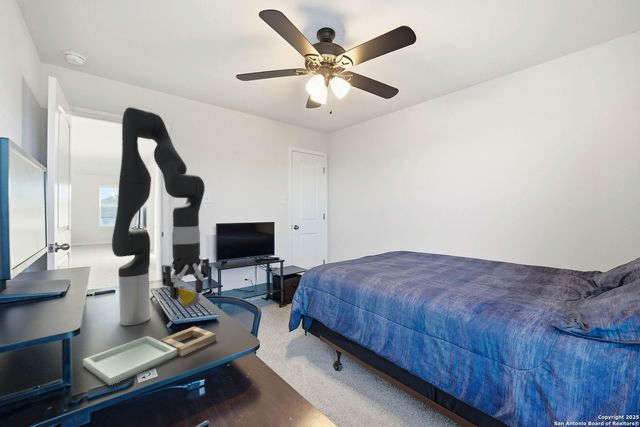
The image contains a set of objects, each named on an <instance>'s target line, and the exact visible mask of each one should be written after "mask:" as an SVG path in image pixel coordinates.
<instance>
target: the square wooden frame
mask: <svg viewBox="0 0 640 427" xmlns="http://www.w3.org/2000/svg"><path fill="white" fill-rule="evenodd" d="M191 336H192V337H193V338H196V339H193V340H192V341H188V342H187V343H183V342H182V341H185V340H186V339H189V338H191ZM159 341H160V342H162V343H165V344H167V345H169V346H171V347H173V348H176V349H177V356H180V357H184V356H185V355H187V354H190V353H192V352H193V351H196V350H198V349H200V348H203V347H205V346H207V345H209V344H211V343H213V342H215V341H217V334H216V333H214V332H211V331H209V330H206V329H204V328H201V327H197V326H192V327H190V328H187V329H184V330H181V331H178V332H175V333H173V334H170V335H169V336H165V337H163V338H160V340H159Z"/></svg>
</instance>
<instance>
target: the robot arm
mask: <svg viewBox="0 0 640 427" xmlns="http://www.w3.org/2000/svg"><path fill="white" fill-rule="evenodd" d="M121 124H122V125H121V128H122V129H121V131H122V132H121V134H122V135H121V138H122V139H121V141H122V144H121V147H122V148H121V151H122V152H121V165H120V173H119V180H118V181H119V182H118V195H117V210H116V217H115V221H114V226H113V227H114V229H113V231H112V232H113V233H112V239H111V249H112V250H111V251H112V252H113V255H114V256H115V257H117V258H118V257H119V258H122V257H123V258H124V257H131V256H134V257H133V259H132V260H130V261H129V262H127V263H125V264H124V265H122V266H120V267H119V268H118V291H119V292H118V293H119V295H118V296H119V324H120V325H121V326H126V327H127V326H136V325H139V324H143V323H145V322H148V321H149V320H150V319H151V309H150V308H151V304H150V301H151V299H150V298H151V297H150V264H151V259H150V258H151V257H150V256H151V237H150V234H149V232H148V230H145V229H140V228H139V229H130V227H131V223H132V221H133V219H134V217H135V216H136V215H137V213H138V212H139V211H140V210H141V208H142V207H143V206H144V205H145V204H146V202H147V201H148V200H149V198H150V194H151V188H152V187H151V186H152V177H151V173H150V171H149V169H148V168H147V166H146V164H145V162H144V161H143V159H142V157H141V154H140V150H139V144H138V142H139V141H138V138H139V139H140V138H141V139H147V140H152V141H154V142H155V143H156V145H155V146H156V147H155V148H154V150H153V158H154V162H155V163H156V165H157V167H158V168H159V170H160V171H161V174H162V176H163V181H164V187H165V191H166V193H167V194H168V195H169V196H171V197H172V198H176V199H186V201H185V203H184V205H179V206H176V207H174V208H173V210H172V232H171V233H172V235H171V237H172V239H171V240H172V242H171V243H172V245H171V246H172V262H171V264H162V266H161V278H162V279H161V281H162V285H163V286H164V287H168V288H169V296H170V298H171V300H174V301H177V300H179V295H178V288H179V287H178V286H179V283H180V281H182V280H183V278H184V277H187V276H189V275H192V276H193V277H194V278H195V280H194V283H195V284H194V286H195V288H194V291H196V292H197V293H198V294H202V291H203V289H204V285H203V284H204V282H203V281H204V279H206V278H209V276H210V275H209V273H210V271H209V270H210V259H209V258H206V257H205V258H204V257H202V258H200V256H201V233H200V232H201V231H200V227H199V225H200V220H199V217H200V209H201V205H202V201H203V198H204V194H205V191H206V190H205V183H204V180H203V179H202V178H201V177H200V176H199V175H196V174H194V175H193V174H186V173H187V170H188V169H187V165H186V163H185V161H184V160H183V159H182V157H181V155H179V153H178V152H177V150H176V148H175V146H174V144H173V141H172V140H171V137H170V136H171V135H170V133H169V132H168V128H167V127H166V124H165V122H164V120H163V119H162V117H161V116H160V115H159V114H158V113H156V112H152V111H149V110H145V109H141V108H137V107H134V106H133V107H132V106H129V107H127V108H126V109H125V110H124V112H123V115H122V122H121ZM199 266H200V269H199ZM172 271H173V273H172Z"/></svg>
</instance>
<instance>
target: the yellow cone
mask: <svg viewBox="0 0 640 427" xmlns="http://www.w3.org/2000/svg"><path fill="white" fill-rule="evenodd" d="M199 296H200V293H197V292H196V291H195V290H192V291H191V290H188V289H185V288H181V287H178V298H179V300H180V301H181V306H182V307H183V308H185V309H189V308H191V307H192V306H197V305H198V303H199V302H200V301H201V299H200V298H199Z"/></svg>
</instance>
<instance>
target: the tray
mask: <svg viewBox="0 0 640 427" xmlns="http://www.w3.org/2000/svg"><path fill="white" fill-rule="evenodd" d="M177 356H178V354H177V349H176V348H173V347H171V346H169V345H167V344H165V343H162V342H161V340H158V339H155V338H154V337H151V336H149V335H146V336H142V337H140V338H137V339H135V340H132V341H129V342H127V343H124V344H121V345H119V346H116V347H113V348H110V349H107V350H105V351H102V352H99V353H96V354H94V355H90V356H88V357H85V358H83V359H82V362H83V364H82V365H83V367H84V368H85V369H87V370H88V371H89V372H91V373H93V374H94V376H96V377H98V379H100V380H101V381H103V382H104V383H106V384H107V385H108V386H110V385H112V386H114V385H116V384H118V383H120V381H121V382H122V380H123V381H125V380H127V379H129V378H132V377H133V376H136V375H138V374H140V373H142V372H144V371H146V370H148V369H151V368H153V367H156V366H158V365H159V364H163V363H164V362H167V361H168V360H170V359H173V358H175V357H177ZM115 383H116V384H115ZM113 384H114V385H113Z"/></svg>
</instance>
